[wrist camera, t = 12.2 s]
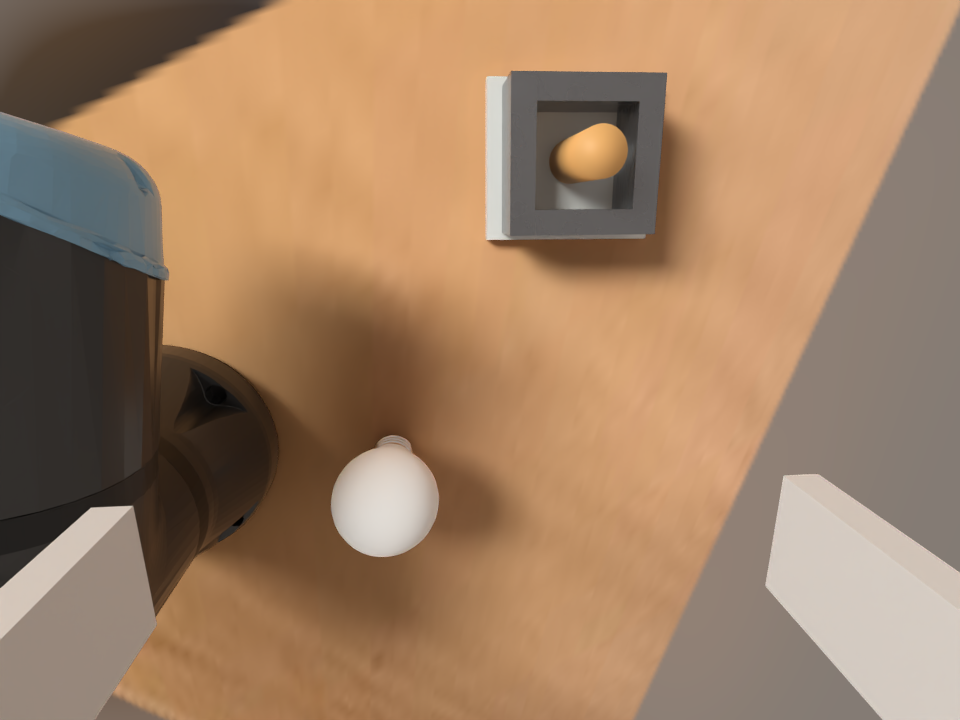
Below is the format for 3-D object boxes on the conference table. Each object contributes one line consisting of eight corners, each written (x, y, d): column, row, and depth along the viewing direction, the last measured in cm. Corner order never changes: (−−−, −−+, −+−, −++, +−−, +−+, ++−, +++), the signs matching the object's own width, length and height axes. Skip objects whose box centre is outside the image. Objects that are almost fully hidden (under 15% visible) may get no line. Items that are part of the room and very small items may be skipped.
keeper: (485, 238, 38) (499, 247, 30) (485, 79, 35) (500, 44, 27) (639, 237, 39) (691, 245, 31) (651, 82, 36) (711, 49, 28)
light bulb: (434, 403, 41) (435, 473, 30) (441, 483, 42) (444, 574, 32) (344, 411, 40) (313, 484, 30) (355, 491, 42) (329, 586, 32)
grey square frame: (501, 232, 37) (510, 235, 33) (502, 86, 34) (511, 71, 30) (631, 231, 37) (654, 233, 34) (641, 87, 35) (667, 72, 31)
